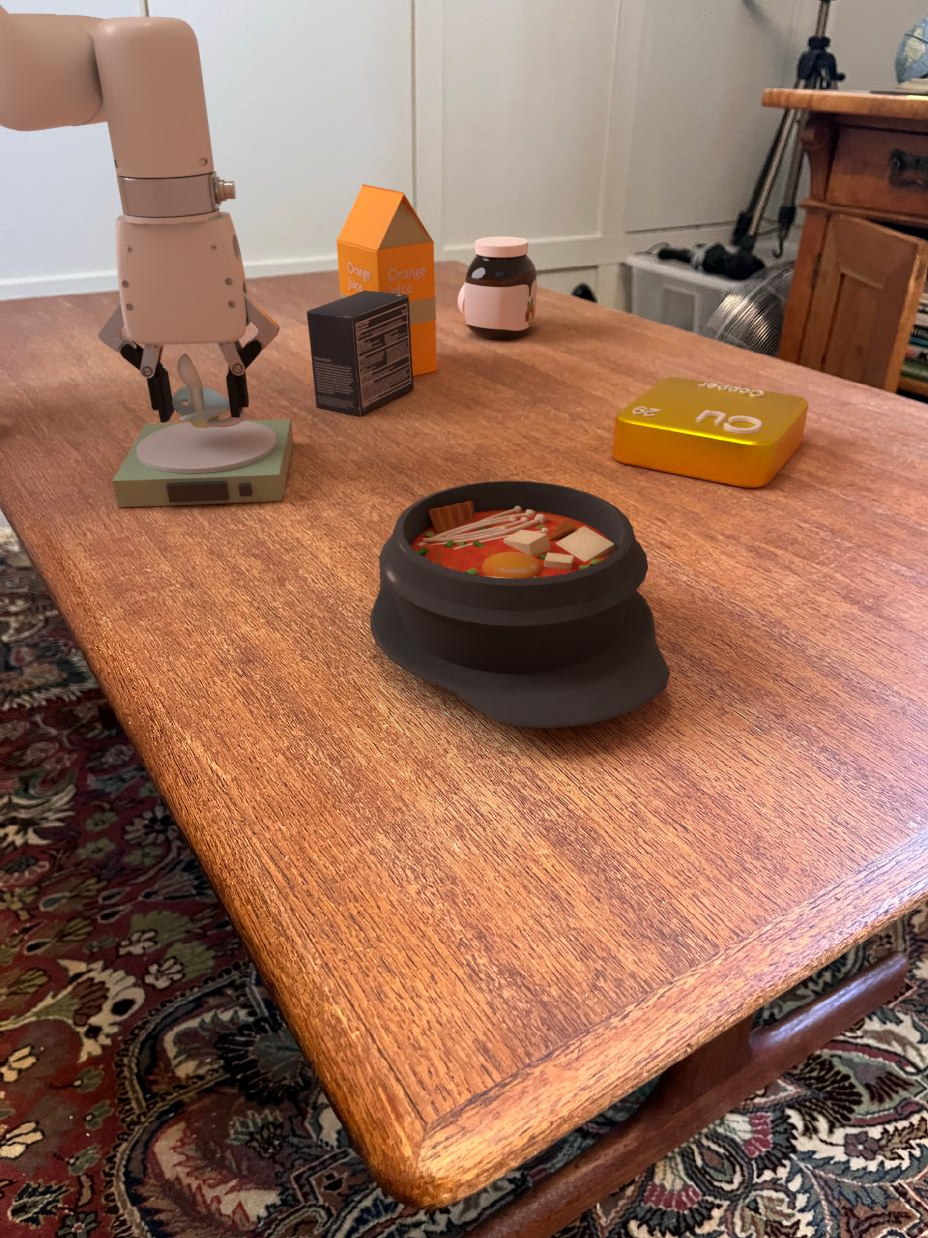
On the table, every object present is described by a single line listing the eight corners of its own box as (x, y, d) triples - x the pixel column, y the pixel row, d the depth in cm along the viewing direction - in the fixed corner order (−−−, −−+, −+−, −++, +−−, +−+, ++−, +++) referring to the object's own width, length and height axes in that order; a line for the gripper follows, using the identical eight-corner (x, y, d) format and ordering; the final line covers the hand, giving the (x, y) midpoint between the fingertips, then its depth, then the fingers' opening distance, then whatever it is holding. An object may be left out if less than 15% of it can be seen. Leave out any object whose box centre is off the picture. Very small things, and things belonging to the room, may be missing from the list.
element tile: (806, 439, 96) (815, 392, 94) (763, 493, 85) (771, 441, 83) (661, 414, 103) (666, 369, 101) (604, 461, 92) (608, 411, 90)
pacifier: (236, 405, 92) (170, 413, 90) (228, 338, 89) (160, 345, 86) (255, 429, 86) (186, 439, 84) (247, 358, 83) (175, 367, 81)
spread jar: (507, 345, 125) (508, 250, 119) (433, 334, 131) (431, 242, 125) (550, 324, 134) (553, 234, 128) (479, 314, 139) (479, 227, 133)
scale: (116, 510, 83) (109, 477, 82) (149, 448, 96) (144, 418, 94) (282, 503, 84) (278, 471, 83) (293, 442, 97) (290, 413, 95)
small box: (369, 380, 114) (363, 287, 108) (416, 389, 111) (412, 294, 105) (312, 407, 106) (303, 308, 100) (361, 417, 103) (354, 315, 98)
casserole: (325, 582, 72) (315, 476, 68) (550, 537, 78) (554, 438, 74) (452, 790, 52) (449, 659, 48) (740, 708, 59) (761, 586, 54)
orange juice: (382, 382, 113) (372, 195, 102) (344, 365, 119) (331, 186, 109) (438, 370, 117) (434, 188, 106) (398, 353, 123) (390, 180, 113)
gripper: (281, 189, 82) (302, 399, 91) (72, 193, 81) (114, 405, 90) (274, 202, 76) (296, 427, 85) (46, 207, 74) (94, 434, 84)
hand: (202, 414), depth 87 cm, fingers closed on pacifier, 5 cm apart
